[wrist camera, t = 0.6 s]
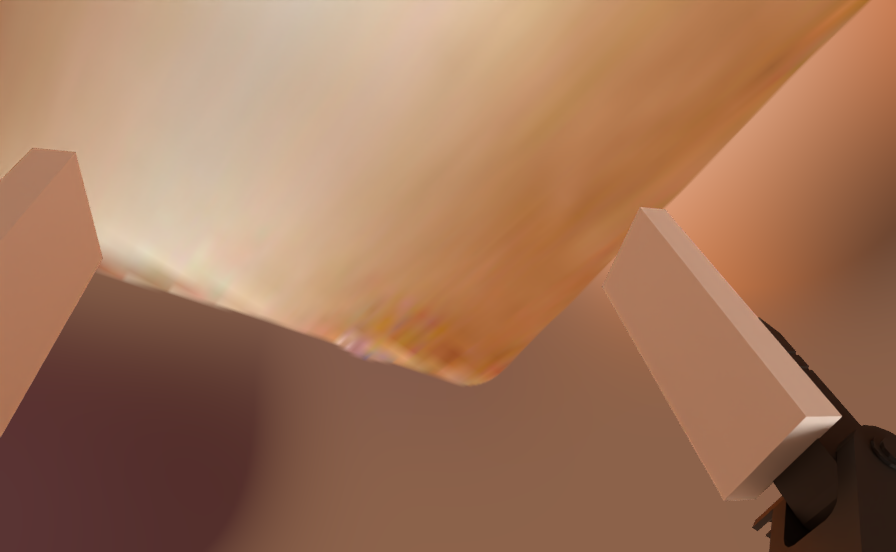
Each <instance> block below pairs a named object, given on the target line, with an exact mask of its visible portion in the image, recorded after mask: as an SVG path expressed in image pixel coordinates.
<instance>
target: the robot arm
mask: <svg viewBox="0 0 896 552" xmlns="http://www.w3.org/2000/svg"><path fill="white" fill-rule="evenodd" d="M102 259H103V258H102V254H101V250H100V246H99V242H98V238H97V234H96V230H95V226H94V223H93V219H92V215H91V211H90V207H89V203H88V199H87V195H86V191H85V187H84V183H83V180H82V176H81V172H80V168H79V164H78V160H77V156H76V152H68V151H58V150H48V149H37V148H32V149H31V150H30V151H29V152H28V153H27V154H26V155H25V156H24V157H23V158H22V159H21V160H20V161H19V162H18V163H17V164H16V165H15V166H14V167H13V168H12V169H11V170H10V171H9V172H8V173H7V174H6V175H5V176H4V177H3V178H2V179H1V180H0V437H1V436H2V434H3V432H4V430H5V429H6V427H7V425H8V423H9V422H10V420H11V418H12V416H13V415H14V413H15V411H16V409H17V407H18V405H19V404H20V402H21V401H22V399H23V397H24V395H25V394H26V392H27V390H28V388H29V387H30V385H31V383H32V381H33V380H34V378H35V376H36V374H37V373H38V371H39V369H40V367H41V365H42V364H43V362H44V360H45V359H46V357H47V355H48V353H49V352H50V350H51V348H52V346H53V345H54V343H55V341H56V339H57V338H58V336H59V334H60V332H61V331H62V329H63V327H64V325H65V323H66V322H67V320H68V318H69V316H70V315H71V313H72V311H73V310H74V308H75V306H76V304H77V302H78V301H79V299H80V297H81V295H82V294H83V292H84V290H85V289H86V287H87V285H88V283H89V282H90V280H91V278H92V276H93V274H94V273H95V271H96V269H97V267H98V266H99V264H100V262H101V260H102ZM602 288H603V289H604V291H605V293H606V295H607V297H608V298H609V300H610V302H611V304H612V305H613V307H614V309H615V311H616V312H617V314H618V316H619V318H620V319H621V321H622V323H623V325H624V327H625V328H626V330H627V332H628V333H629V335H630V337H631V339H632V341H633V342H634V344H635V346H636V348H637V349H638V351H639V353H640V355H641V356H642V358H643V360H644V362H645V363H646V365H647V367H648V369H649V370H650V372H651V374H652V376H653V377H654V379H655V381H656V383H657V384H658V386H659V388H660V390H661V392H662V393H663V395H664V397H665V399H666V400H667V402H668V404H669V405H670V407H671V409H672V411H673V412H674V414H675V416H676V418H677V420H678V421H679V423H680V425H681V427H682V428H683V430H684V432H685V434H686V435H687V437H688V439H689V441H690V442H691V444H692V446H693V448H694V449H695V451H696V453H697V455H698V456H699V458H700V460H701V462H702V463H703V465H704V467H705V469H706V471H707V472H708V474H709V476H710V477H711V479H712V481H713V483H714V485H715V486H716V488H717V489H718V492H719V493H720V495H721V497H722V499H723V500H724V501H731V500H751V499H756V498H758V497H759V495H761V494H762V493H763V492H764V491H765V490H766V489H767V488H768V487H769V486H770V485H771V484H772V483H773V482H774V484H775V485H776V487H777V488H778V490H779V491H780V493H781V494H782V496H781V497H780V498H779V499H778V500H777V501H776V502H775V503H774V504H773V505H772V506H770V507H769V508H768V509H767V510H766V511H765V512H764V513H763V514H762V515H761V516H759V517H758V518H757V519H756V520H755V522H754V525H753V527H752V528H754V529H755V530H757V531H758V530H759V529H760V528H762V527H763V526H764V525H765V524H766V523H767V522H772V526H771V530H770V531H769V532H768V533H767V534H766V536H767V537H769V538H770V549H769V552H896V435H894V434H893V433H891V432H889V431H886V430H884V429H881V428H879V427H876V426H868V425H863V426H861V425H860V424H859V423H858V422H857V421H856V420H855V418H853V416H852V415H851V414H850V413H849V412H848V411H847V409H846V408H845V407H844V406H843V405H842V404H841V402H840V401H839V400H838V399H837V398H836V397H835V396H834V394H833V393H832V392H831V391H830V390H829V389H828V388H827V386H826V385H825V384H824V383H823V382H822V381H821V380H820V378H819V377H818V376H817V375H816V374H815V373H814V372H813V371H812V370H809V369H808V367H809V366H808V365H807V364H806V363H805V362H804V360H803V359H802V358H801V357H800V356H799V355H796V351H795V350H794V349H793V348H792V346H791V345H790V344H789V343H788V342H787V341H786V340H785V339H784V337H783V336H782V335H781V334H780V333H779V332H778V331H776V330H775V329H774V328H772V327H771V326H770V325H768V324H767V323H766V322H764V321H763V320H762V319H760V318H759V317H757V316H756V315H755V314H754V313H753V311H752V310H751V309H750V308H749V307H748V306H747V304H746V303H745V302H744V301H743V300H742V299H741V297H740V296H739V295H738V294H737V293H736V292H735V290H734V289H733V288H732V287H731V286H730V285H729V284H728V282H727V281H726V280H725V279H724V278H723V276H722V275H721V274H720V273H719V272H718V270H717V269H716V268H715V267H714V266H713V265H712V264H711V263H710V261H709V260H708V259H707V258H706V256H704V254H703V253H702V252H701V251H700V249H699V248H698V247H697V246H696V245H695V244H694V242H693V241H692V240H691V239H690V238H689V237H688V236H687V234H686V233H685V232H684V231H683V230H682V228H681V227H680V226H679V225H678V224H677V223H676V222H675V220H674V219H673V218H672V217H671V216H670V215H669V213H668V212H667V211H666V210H665V209H655V208H644V207H640V208H639V210H638V212H637V214H636V216H635V218H634V220H633V223H632V225H631V227H630V229H629V231H628V233H627V235H626V237H625V239H624V241H623V243H622V245H621V247H620V250H619V252H618V254H617V256H616V258H615V260H614V262H613V264H612V266H611V268H610V270H609V272H608V275H607V277H606V279H605V281H604V283H603V285H602Z"/></svg>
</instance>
